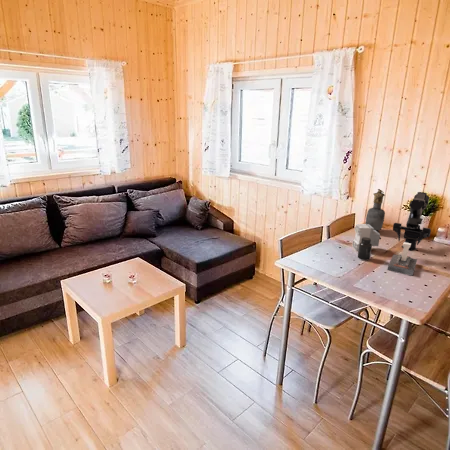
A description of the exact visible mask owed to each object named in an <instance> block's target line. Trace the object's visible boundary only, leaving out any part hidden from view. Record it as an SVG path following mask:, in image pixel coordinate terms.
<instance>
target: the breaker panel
mask: <svg viewBox="0 0 450 450" xmlns="http://www.w3.org/2000/svg"><path fill="white" fill-rule="evenodd" d="M401 258H402V254H394V253H393V255H392V256H391V258H390V261H389V263H388V265H387V271H389V272H390V271H391V272H395V273H399V274H403V275H406V276H407V275H408V276H410V277H411V276H413V275H414V272H415V269H416V265H417V264H418V263H417V262H418V259H417V258H413V257H411V256H407V260H406V261H402V260H401Z"/></svg>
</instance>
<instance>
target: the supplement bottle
mask: <svg viewBox="0 0 450 450" xmlns="http://www.w3.org/2000/svg"><path fill="white" fill-rule="evenodd" d="M361 241H362V242H360V243H359V249H358V251H357V258H358V259H359V260H362V261H369V260H370V259H371V256H372V248H373V246H372V244H371V239H370V238H367V237H363V238H362V240H361Z"/></svg>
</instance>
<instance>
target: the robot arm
mask: <svg viewBox="0 0 450 450" xmlns="http://www.w3.org/2000/svg"><path fill="white" fill-rule="evenodd" d="M429 203H430V196H428V194H427V192H424V191H422V192H421V191H418V192H417V194H415V195H414V196H413V199H412V200H410V203H409V215H408V217H407V220H406V226H404V225H402V223H401V222H393V224H392V230H393V231H394V233H396V235H397V240H398V242H400V241H401V233H402V232H401V231H404V233H403V240H404V242H406V243H411V246H410V248H409V250H408V251H410V252H412V251H416V250H418V248H417V246H418V245H420V243H421V242H422V241H423V240H424V239H427V238H430V236H431V232H432V231H431V230H432V229H431V228H430V227H424V226H423V227H422V228H421V225H422V223H423V218H422V213H423V211H424V210H426V209H427V206H429ZM401 248H404V247H403V245H402V246H401Z"/></svg>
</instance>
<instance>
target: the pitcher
mask: <svg viewBox="0 0 450 450" xmlns="http://www.w3.org/2000/svg"><path fill="white" fill-rule="evenodd" d="M373 195H374V196H373V207H371V208H369V209H368V210H367V213H366V218H365V223H364V224H369V225H370V226H372V227H373V228H374V230H376V231H377V232H378V233H380V230H382V228H383V225H384V221H385V214H386V212H385V210H384V209H382V204H383V202H384V201H383V200H384V197H385V196H386V194H385V192H384V191H383V190H381V189H380V188H378V189H377V192H375V193H373Z"/></svg>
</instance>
